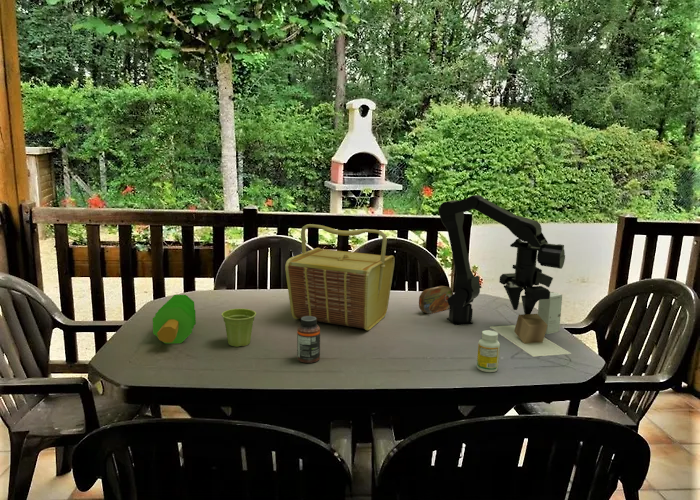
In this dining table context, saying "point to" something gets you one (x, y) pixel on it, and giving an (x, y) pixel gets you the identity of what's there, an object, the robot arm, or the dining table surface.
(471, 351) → the dining table surface
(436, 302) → the tin
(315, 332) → the supplement bottle
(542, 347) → the cream mat
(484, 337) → the supplement bottle
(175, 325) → the decorative tree
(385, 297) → the picnic basket
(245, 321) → the plant pot
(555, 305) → the skincare box
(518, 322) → the tan cube
